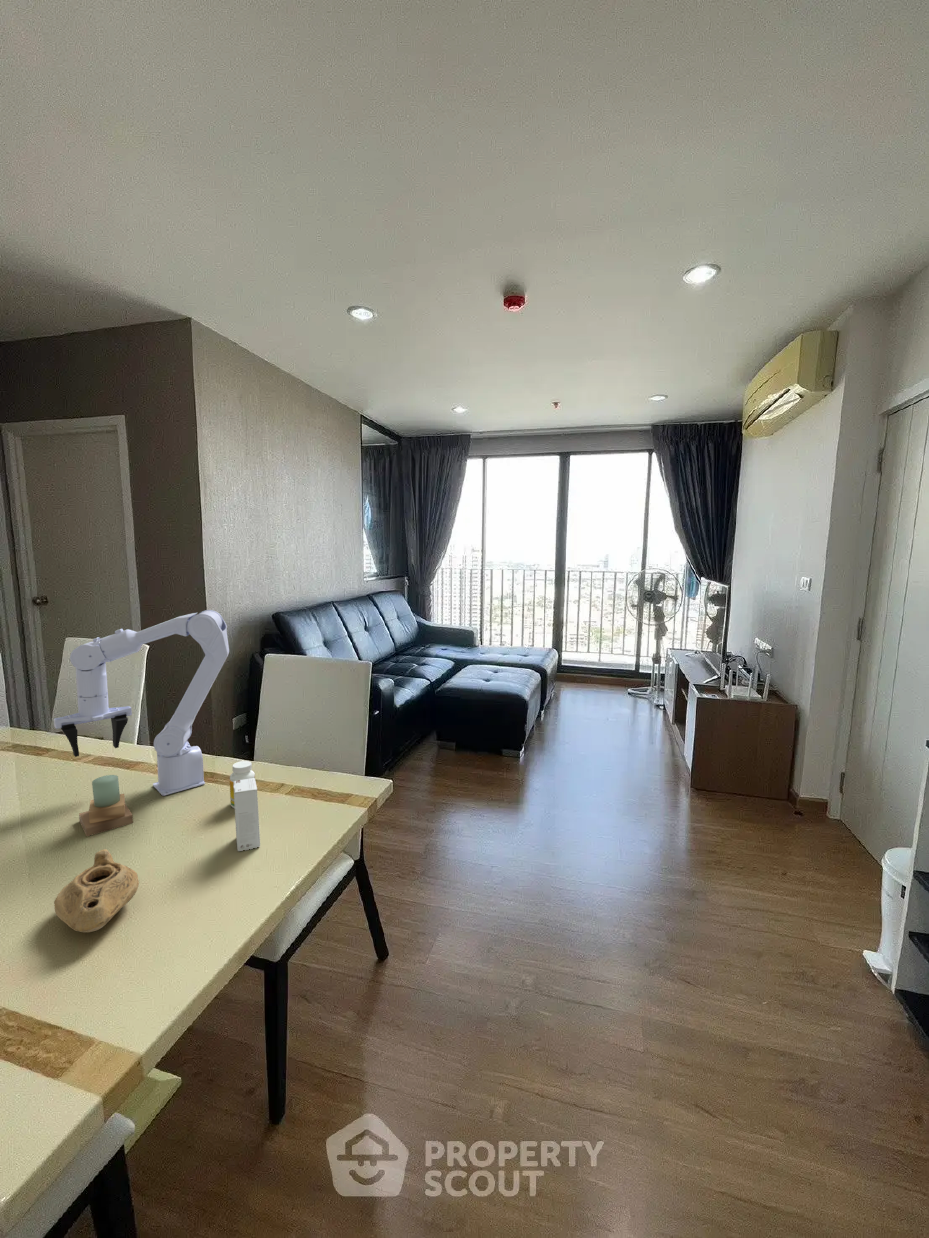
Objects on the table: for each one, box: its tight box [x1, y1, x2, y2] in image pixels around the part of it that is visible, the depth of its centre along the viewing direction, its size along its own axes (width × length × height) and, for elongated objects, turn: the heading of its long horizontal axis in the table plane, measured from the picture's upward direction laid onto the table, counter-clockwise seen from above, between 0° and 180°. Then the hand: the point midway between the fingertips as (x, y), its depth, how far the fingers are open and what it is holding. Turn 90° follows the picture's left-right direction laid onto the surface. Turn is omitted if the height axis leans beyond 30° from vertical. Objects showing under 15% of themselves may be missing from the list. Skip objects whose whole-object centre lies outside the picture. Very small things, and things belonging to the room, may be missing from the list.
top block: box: [88, 793, 126, 824], centre depth 108 cm, size 6×6×2 cm
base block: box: [78, 803, 134, 837], centre depth 108 cm, size 8×8×2 cm
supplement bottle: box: [229, 760, 256, 809], centre depth 117 cm, size 5×5×10 cm
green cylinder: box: [91, 774, 120, 807], centre depth 108 cm, size 4×4×5 cm
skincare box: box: [233, 777, 261, 852], centre depth 101 cm, size 6×4×12 cm
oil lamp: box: [53, 848, 140, 933], centre depth 80 cm, size 11×15×8 cm
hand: (96, 750), depth 119 cm, fingers open, 7 cm apart
